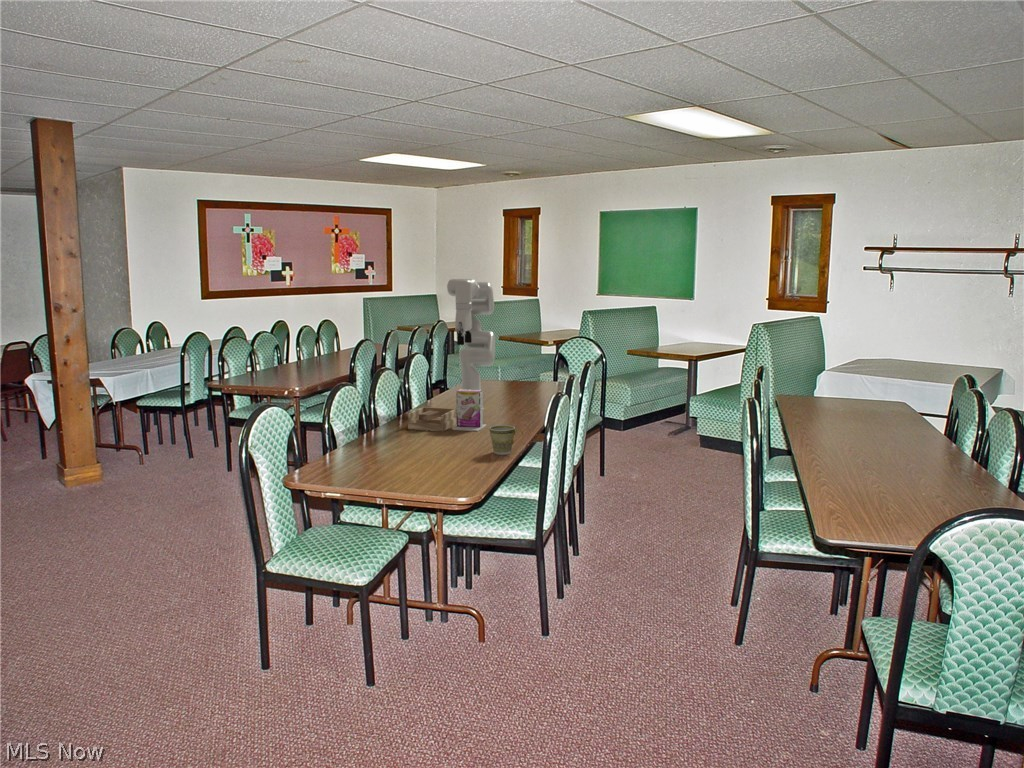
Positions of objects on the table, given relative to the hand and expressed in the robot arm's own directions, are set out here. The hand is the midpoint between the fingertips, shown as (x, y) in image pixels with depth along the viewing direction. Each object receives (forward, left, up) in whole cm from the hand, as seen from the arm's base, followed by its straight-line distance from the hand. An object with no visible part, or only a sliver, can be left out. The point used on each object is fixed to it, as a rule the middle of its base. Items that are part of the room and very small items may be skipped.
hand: (464, 343), depth 350 cm
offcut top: (+22, -9, -32) cm, 39 cm away
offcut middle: (+22, -9, -34) cm, 41 cm away
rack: (+18, -9, -36) cm, 41 cm away
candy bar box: (+16, +8, -36) cm, 40 cm away
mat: (+16, +8, -36) cm, 40 cm away
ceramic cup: (+55, +38, -36) cm, 76 cm away
